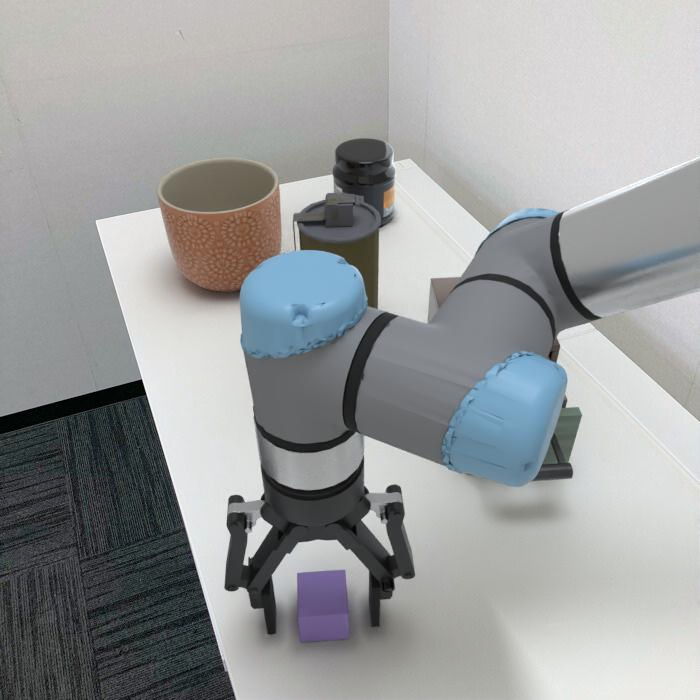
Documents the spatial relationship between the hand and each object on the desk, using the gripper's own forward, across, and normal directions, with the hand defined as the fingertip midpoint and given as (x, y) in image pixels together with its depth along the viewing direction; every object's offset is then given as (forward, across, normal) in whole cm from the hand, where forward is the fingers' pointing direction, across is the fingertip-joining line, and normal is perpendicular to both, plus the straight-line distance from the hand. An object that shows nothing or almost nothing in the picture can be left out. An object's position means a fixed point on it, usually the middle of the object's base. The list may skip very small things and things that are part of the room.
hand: (323, 616), depth 65 cm
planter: (+1, +12, -58) cm, 59 cm away
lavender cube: (0, 0, 0) cm, 0 cm away
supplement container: (+1, -10, -74) cm, 75 cm away
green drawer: (-1, -22, -20) cm, 29 cm away
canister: (+1, -4, -43) cm, 43 cm away
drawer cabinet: (0, -22, -33) cm, 40 cm away
